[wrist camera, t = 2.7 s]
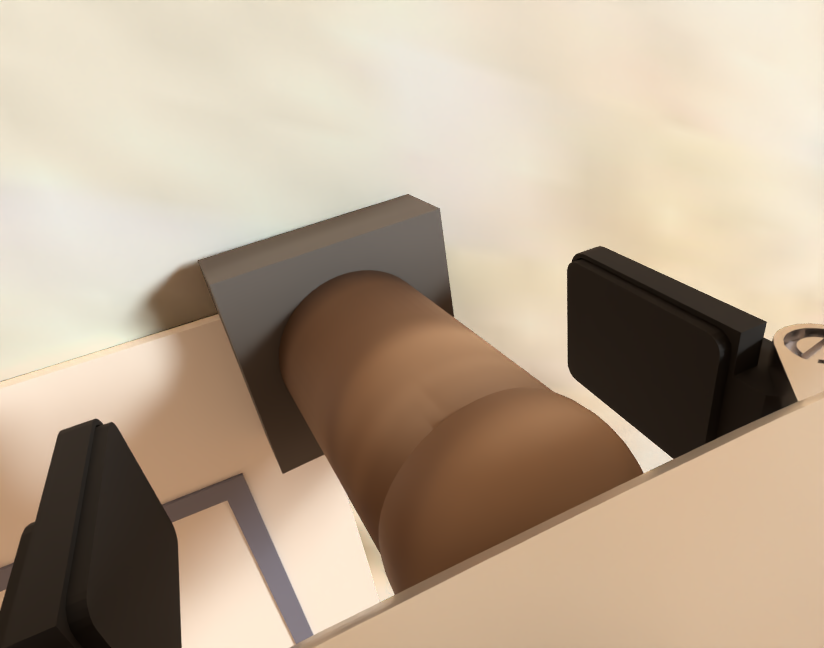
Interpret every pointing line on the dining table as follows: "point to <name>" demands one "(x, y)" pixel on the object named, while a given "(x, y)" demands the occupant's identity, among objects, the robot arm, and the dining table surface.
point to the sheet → (197, 486)
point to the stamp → (403, 390)
